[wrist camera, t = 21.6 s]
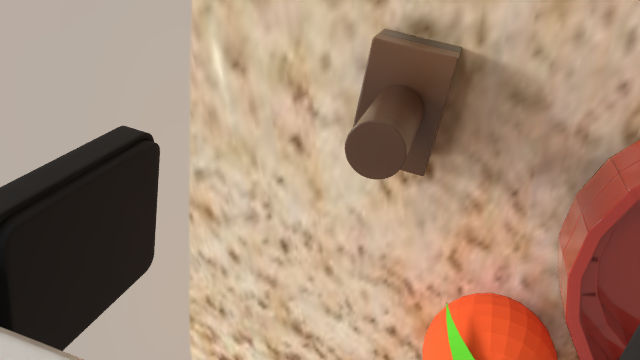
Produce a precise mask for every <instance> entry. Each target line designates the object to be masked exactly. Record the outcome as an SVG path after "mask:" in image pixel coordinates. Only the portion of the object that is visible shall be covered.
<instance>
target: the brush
mask: <svg viewBox="0 0 640 360" xmlns="http://www.w3.org/2000/svg"><path fill="white" fill-rule="evenodd" d="M461 50H462V48H461V47H458V46H454V45H450V44H446V43H441V42H437V41H433V40H429V39H425V38H421V37H416V36H412V35H408V34H404V33H400V32H396V31H392V30H387V29H384V30H383V31H381V32H380V33H379V34H378V35H376V36H375V37H374V38H373V40H372V44H371V49H370V53H369V58H368V62H367V67H366V71H365V76H364V80H363V85H362V89H361V94H360V98H359V103H358V107H357V112H356V116H355V121H354V125H353V129H352V130H351V131H350V133H349V134H348V136H347V139H346V142H345V154H346V157H347V160H348V162H349V164H350V165H351V167H352V168H353V169H354V170H355V171H356V172H357V173H359V174H360V175H362V176H364V177H367V178H370V179H385V178H388V177H391V176H393V175H394V174H396V173H397V172H398V171H399V170H403V171H406V172H410V173H413V174H417V175H420V176H424V174H425V171H426V168H427V165H428V161H429V158H430V155H431V152H432V148H433V145H434V141H435V138H436V135H437V131H438V128H439V124H440V121H441V118H442V114H443V111H444V107H445V104H446V101H447V97H448V94H449V90H450V87H451V84H452V80H453V77H454V74H455V70H456V67H457V63H458V60H459V57H460V53H461Z"/></svg>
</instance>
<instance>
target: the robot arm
mask: <svg viewBox="0 0 640 360" xmlns="http://www.w3.org/2000/svg"><path fill="white" fill-rule="evenodd" d="M159 156H160V148H159V145H158V144H157V143H154V140H153V137H152V135H151V134H149V133H146V132H143V131H139V130H136V129H133V128H130V127H126V126H120V127H118V128H116V129H114V130H112V131H110V132H108V133H106V134H104V135H102V136H100V137H98V138H96V139H94V140H92V141H91V142H88V143H86V144H84V145H83V146H81V147H79V148H77V149H75V150H73V151H71V152H69V153H67V154H65V155H63V156H61V157H59V158H57V159H55V160H53V161H51V162H49V163H47V164H45V165H43V166H41V167H39V168H37V169H35V170H33V171H32V172H30V173H28V174H26V175H24V176H22V177H20V178H18V179H16V180H14V181H12V182H10V183H8V184H6V185H4V186H2V187H0V360H83V359H80V358H78V357H76V356H73V355H71V354H68V353H65V352H63V350H64V349H65V348H66V347H67V346H68V345H69V344H70V343H71V342H72V341H73V340H74V339H75V338H77V337H78V336H79V335H80V334H81V333H82V332H83V331H84V330H85V329H86V328H87V327H88V326H89V325H90V324H91V323H92V322H93V321H94V320H96V319H97V318H98V317H99V316H100V315H101V314H102V313H103V312H104V311H105V310H106V309H107V308H108V307H109V306H110V305H111V304H112V303H113V302H115V301H116V300H117V299H118V298H119V297H120V296H121V295H122V294H123V293H124V292H125V291H126V290H127V289H128V288H129V287H130V286H131V285H132V284H134V283H135V282H136V281H137V280H138V279H139V278H140V277H141V276H142V275H143V274H144V273H145V272H146V271H147V270H148V268H149V267H150V265H151V263H152V260H153V257H154V246H155V228H156V211H157V192H158V176H159ZM619 360H640V324H639V325H638V327H637V329H636V331H635V332H634V334H633V336H632V337H631V339H630V341H629V343H628V344H627V346H626V348H625V350H624V351H623V353H622V355H621V357H620V358H619Z"/></svg>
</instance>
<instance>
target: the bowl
mask: <svg viewBox="0 0 640 360" xmlns="http://www.w3.org/2000/svg"><path fill="white" fill-rule="evenodd" d="M557 276H558V281H559V287H560V292H561V297H562V303H563V309H564V314H565V320H566V323H567V326H568V329H569V332H570V334H571V337H572V340H573V343H574V345H575V348H576V351H577V353H578V356H579V359H580V360H619V358H620V357H621V355H622V353H623V351H624V350H625V348H626V346H627V344H628V343H629V341H630V339H631V337H632V336H633V334H634V332H635V331H636V329H637V327H638V325H639V324H640V140H639V141H637V142H635V143H634V144H632V145H630V146H629V147H627V148H625V149H624V150H622V151H620V152H619V153H617V154H616V155H614V156H612V157H611V158H609V159H608V160H607V161H606V162H605V164H604V165H603V166H602V167H601V168H600V169H599V170H598V171H597V172H596V173H595V175H594V176H593V177H592V178H591V179H590V180H589V181H588V182H587V183H586V184H585V185H584V187H583V188H582V189H581V190H580V191H579V192H578V193H577V195H576V196H575V199H574V201H573V203H572V206H571V208H570V210H569V213H568V215H567V217H566V219H565V222H564V224H563V226H562V229H561V231H560V233H559V240H558V267H557Z"/></svg>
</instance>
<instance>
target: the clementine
mask: <svg viewBox="0 0 640 360" xmlns="http://www.w3.org/2000/svg"><path fill="white" fill-rule="evenodd" d="M423 360H557V353H556V350H555V348H554V345H553V342H552V340H551V337H550V335H549V332H548V330H547V329H546V327H545V326H544V325H543V323H542V322H541V321H540V320H539V318H538V317H537V316H536V315H535V314H534V313H532V312H531V311H530V310H529V309H527V308H526V307H525V306H524V305H522V304H521V303H519V302H517V301H515V300H513V299H510V298H508V297H506V296H501V295H496V294H492V293H476V294H472V295H468V296H463V297H461V298H459V299H457V300H455V301H453V302H451V303H450V304H449V305H447V302H446V307H445V308H444V309H443V310H442V311H441V312H439V313H438V314H437V315H436V316H435V318H434V319H433V321H432V323H431V325H430V327H429V328H428V331H427V333H426V336H425V340H424V345H423Z"/></svg>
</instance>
